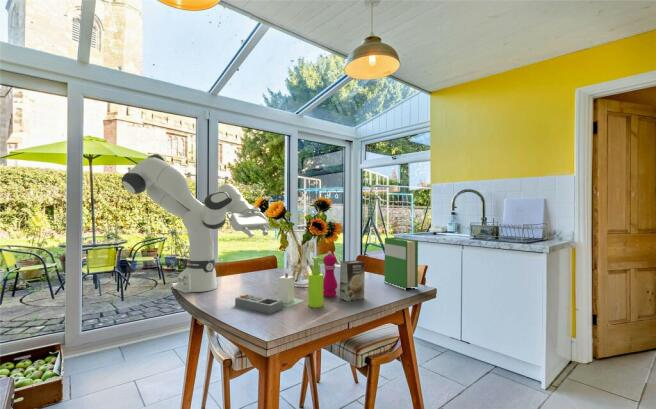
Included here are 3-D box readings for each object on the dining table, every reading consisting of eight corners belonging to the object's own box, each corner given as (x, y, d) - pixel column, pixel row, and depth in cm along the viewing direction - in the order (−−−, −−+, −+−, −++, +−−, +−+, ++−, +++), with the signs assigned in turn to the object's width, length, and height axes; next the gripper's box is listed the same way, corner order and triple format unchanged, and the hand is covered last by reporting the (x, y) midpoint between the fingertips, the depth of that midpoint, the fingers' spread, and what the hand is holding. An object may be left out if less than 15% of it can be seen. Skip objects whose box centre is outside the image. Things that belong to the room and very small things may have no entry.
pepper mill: (335, 297, 142) (336, 252, 142) (319, 296, 143) (320, 251, 143) (338, 293, 149) (338, 250, 149) (323, 292, 150) (323, 249, 150)
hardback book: (417, 289, 158) (417, 240, 158) (405, 290, 155) (405, 240, 155) (396, 281, 174) (396, 237, 174) (384, 283, 171) (384, 237, 171)
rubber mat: (267, 305, 130) (267, 302, 130) (284, 298, 140) (284, 296, 140) (288, 309, 125) (288, 307, 125) (305, 302, 134) (305, 300, 134)
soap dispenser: (328, 307, 128) (328, 256, 129) (315, 310, 123) (315, 258, 124) (317, 303, 132) (318, 255, 133) (305, 307, 128) (305, 256, 128)
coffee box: (348, 301, 136) (348, 263, 136) (339, 298, 141) (339, 261, 141) (364, 298, 141) (365, 261, 141) (355, 295, 146) (356, 259, 146)
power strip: (235, 308, 126) (235, 296, 126) (248, 303, 132) (248, 292, 132) (270, 316, 116) (270, 303, 116) (282, 311, 122) (282, 299, 122)
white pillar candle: (278, 302, 131) (278, 273, 131) (284, 299, 135) (284, 271, 135) (288, 303, 129) (288, 274, 129) (293, 300, 133) (294, 272, 133)
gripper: (229, 207, 134) (246, 232, 129) (261, 207, 152) (277, 229, 147) (221, 218, 136) (238, 242, 131) (254, 217, 154) (270, 238, 149)
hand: (259, 235), depth 139 cm, fingers open, 8 cm apart
